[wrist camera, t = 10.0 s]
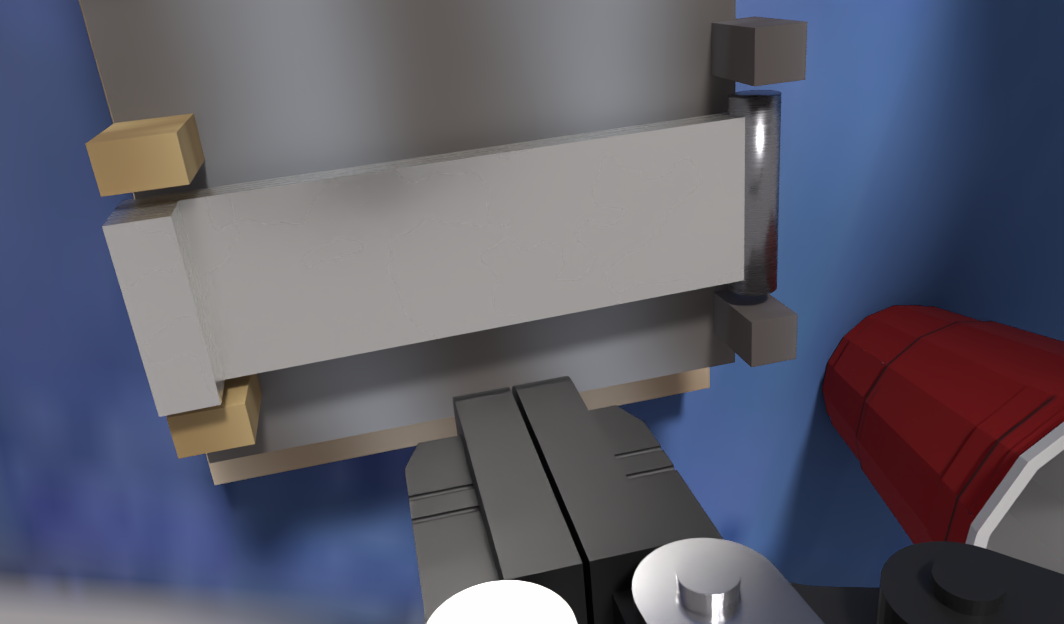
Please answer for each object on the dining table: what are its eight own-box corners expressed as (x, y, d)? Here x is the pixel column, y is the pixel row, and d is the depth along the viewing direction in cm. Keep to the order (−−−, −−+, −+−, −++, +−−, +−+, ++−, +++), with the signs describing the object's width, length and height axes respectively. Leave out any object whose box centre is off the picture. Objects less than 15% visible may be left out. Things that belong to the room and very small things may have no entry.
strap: (764, 88, 20) (816, 100, 18) (761, 275, 22) (808, 304, 20) (117, 179, 17) (96, 205, 15) (176, 387, 19) (164, 433, 17)
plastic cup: (817, 206, 29) (1110, 345, 18) (1054, 265, 32) (1424, 412, 22) (713, 478, 32) (911, 732, 22) (939, 506, 36) (1209, 740, 25)
